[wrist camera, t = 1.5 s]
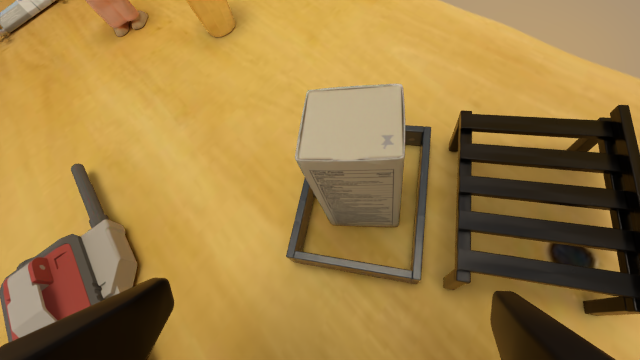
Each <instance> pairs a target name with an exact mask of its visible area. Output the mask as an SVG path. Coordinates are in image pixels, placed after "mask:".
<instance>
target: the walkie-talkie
mask: <svg viewBox="0 0 640 360" xmlns="http://www.w3.org/2000/svg"><path fill="white" fill-rule="evenodd" d="M71 171H72V174H73V176H74V179H75V181H76V184H77V187H78V189H79V192H80V194H81V197H82V200H83V202H84V205H85V207H86V210H87V212H88V215H89V218H90V220H89V223H90V226H91V228H92V229H91V230H89V231H88V232H86V233H85V234H84V235H82V236H81V237H80V236H77V235H74V234H71V235H68V236H66V237H63V238H61V239H59V240H57V241H56V242H55V243H54V244H52V245H51V246H49V247H48V248H47V249H45V250H44V251H42V252H41V253H40V254H38V255H37V256H35V257H33V258H30V259H28V260H25V261H24V262H22V263H21V264H19V266H18V267H17V270H16V271H15V272H13V273H12V274H10V275H9V276H8V277H6V278H5V280H4V282H3V283H2V285H1V288H0V299H1V304H2V309H3V315H4V320H5V325H6V331H7V336H8V341H9V342H11V341H13V340H16V339H18V338H20V337H22V336H25V335H27V334H29V333H31V332H33V331H36V330H38V329H40V328H42V327H45V326H47V325H49V324H51V323H53V322H56V321H58V320H60V319H62V318H65V317H67V316H69V315H71V314H74V313H76V312H78V311H80V310H82V309H85V308H87V307H89V306H91V305H94V304H96V303H98V302H100V301H103V300H105V299H107V298H109V297H111V296H114V295H116V294H118V293H120V292H123V291H125V290H127V289H129V288H131V287H133V283H134V278H135V274H136V270H137V262H136V259H135V257H134V255H133V253H132V250H131V248H130V246H129V243H128V241H127V239H126V237H125V230H124V227H123V225H121V224H118V223H116V222H113V221H110V220H109V218H108V216H107V215H105V214H104V212H103V209H102V207H101V204H100V202H99V200H98V197H97V195H96V192H95V190H94V187H93V185H92V184H91V182H90V180H89V178H88V175H87V173H86V171H85V168H84V166H83V165H82V164H74V165H73V166H72V167H71Z"/></svg>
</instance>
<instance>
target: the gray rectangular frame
mask: <svg viewBox="0 0 640 360" xmlns="http://www.w3.org/2000/svg"><path fill="white" fill-rule="evenodd" d="M430 138H431V127H423V126H408V125H405V144H406V145H419V146H420V145H421V149H420V161H419V174H418V186H417V198H416V210H415V222H414V235H413V247H412V259H411V270H406V269H400V268H394V267H388V266H382V265H376V264H370V263H365V262H359V261H353V260H347V259H341V258H335V257H329V256H323V255H317V254H311V253H306V252H302V251H303V246H304V242H305V237H306V233H307V228H308V223H309V219H310V214H311V210H312V205H313V201H314V196H315V194H314V192H313V190H312V189H311V187H310V185H309V183H308V181H307V180H306V178H305V179H304V183H303V188H302V192H301V196H300V200H299V204H298V209H297V213H296V217H295V221H294V225H293V230H292V234H291V238H290V242H289V247H288V251H287V255H286V257H287V258H289V259H290V260H292V261H293V262H296V263H301V264H307V265H312V266H318V267H324V268H329V269H335V270H340V271H346V272H351V273H357V274H363V275H368V276H374V277H379V278H385V279H390V280H396V281H402V282H407V283H409V282H410V283H413V284H418V282H419V281H420V280H421V269H422V254H423V240H424V225H425V211H426V196H427V181H428V167H429V152H430Z"/></svg>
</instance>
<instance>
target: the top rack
mask: <svg viewBox="0 0 640 360" xmlns="http://www.w3.org/2000/svg"><path fill="white" fill-rule="evenodd" d="M610 116H611V118H599V119H598V120H578V119H558V118H539V117H519V116H500V115H480V114H472V111H461V112H460V115H459V118H458V121H457V124H456V126H455V129H454V132H453V134H452V137H451V140H450V142H449V150H450V151H458V173H457V208H456V243H455V269H454V270H453V271H451V272H450V273H449V274H448V275H446V276H445V277H444V278H443V288H445V289H451V290H455V289H457V288H459V287H461V286H463V285H465V284H469V283H470V282H471V272H472V273H478V274H484V275H491V276H497V277H503V278H509V279H515V280H521V281H527V282H533V283H539V284H545V285H552V286H558V287H564V288H570V289H576V290H582V291H588V292H594V293H600V294H607V295H613V296H619V297H613V298H605V299H597V300H588V301H583V303H584V311H585V313H586V314H591V315H596V316H604V315H625V314H640V153H639V149H638V144H637V140H636V136H635V131H634V127H633V123H632V118H631V114H630V110H629V106H628V105H618V106H617V107H616V108H615V109H614V110H613V111H612V112H611V113H610ZM472 132H488V133H503V134H519V135H535V136H550V137H566V138H579V139H578V140H577V141H576V142H575V143H574V144H572V145H571V146H570V147H569V148H568V149H567V150H554V149H540V148H526V147H512V146H498V145H484V144H472ZM597 143H598V145H599V151H600V153H595V152H588V151H589V150H590V149H591V148H592V147H594V146H595V145H596V144H597ZM472 162H478V163H490V164H501V165H513V166H525V167H537V168H548V169H560V170H572V171H583V172H595V173H603V174H604V180H605V186H606V189H604V188H594V187H583V186H573V185H562V184H552V183H541V182H531V181H520V180H510V179H499V178H489V177H478V176H471V172H472ZM471 195H474V196H483V197H492V198H501V199H510V200H520V201H529V202H538V203H547V204H556V205H565V206H575V207H584V208H593V209H602V210H610V215H611V220H612V226H613V228H607V227H598V226H590V225H582V224H573V223H565V222H557V221H548V220H540V219H532V218H523V217H515V216H507V215H499V214H490V213H482V212H474V211H471ZM471 232H476V233H483V234H491V235H498V236H505V237H513V238H520V239H528V240H535V241H542V242H550V243H557V244H565V245H572V246H579V247H587V248H594V249H602V250H609V251H616V252H617V255H618V261H619V267H620V272H615V271H608V270H602V269H595V268H588V267H581V266H575V265H568V264H561V263H554V262H548V261H541V260H534V259H527V258H521V257H514V256H507V255H500V254H494V253H487V252H480V251H473V250H471Z"/></svg>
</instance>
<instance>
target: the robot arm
mask: <svg viewBox="0 0 640 360" xmlns="http://www.w3.org/2000/svg"><path fill="white" fill-rule="evenodd" d="M173 307H174V299H173V295H172V291H171V287H170V284H169V281H168V280H167V279H165V278H152V279H149V280H147V281H145V282H143V283H140V284H138V285H136V286H134V287H131V288H129V289H127V290H125V291H123V292H120V293H118V294H116V295H114V296H111V297H109V298H107V299H105V300H103V301H100V302H98V303H96V304H94V305H91V306H89V307H87V308H85V309H82V310H80V311H78V312H76V313H74V314H71V315H69V316H67V317H65V318H62V319H60V320H58V321H56V322H53V323H51V324H49V325H47V326H45V327H42V328H40V329H38V330H36V331H33V332H31V333H29V334H27V335H25V336H22V337H20V338H18V339H16V340H13V341H11V342H9V343H7V344H4V345H3V346H1V347H0V360H146V359H147V357H148V355H149V354H150V352H151V350H152V348H153V346H154V344H155V342H156V341H157V339H158V337H159V335H160V333H161V331H162V329H163V327H164V325H165V323H166V322H167V320H168V318H169V316H170V314H171V312H172V310H173ZM491 327H492V331H493V334H494V337H495V341H496V344H497V347H498V351H499V354H500V357H501V360H615V359H614V358H612V357H611V356H609V355H608V354H606V353H605V352H603V351H602V350H600V349H599V348H597V347H596V346H594V345H593V344H591V343H590V342H588V341H587V340H585V339H584V338H582V337H581V336H579V335H578V334H576V333H575V332H573V331H572V330H570V329H569V328H567V327H566V326H564V325H563V324H561V323H560V322H558V321H557V320H555V319H554V318H552V317H551V316H549V315H548V314H546V313H545V312H543V311H542V310H540V309H539V308H537V307H536V306H534V305H533V304H531V303H530V302H528V301H527V300H525V299H524V298H522V297H521V296H519V295H518V294H516V293H514V292H511V291H496V292H494V294H493V299H492V309H491Z"/></svg>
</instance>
